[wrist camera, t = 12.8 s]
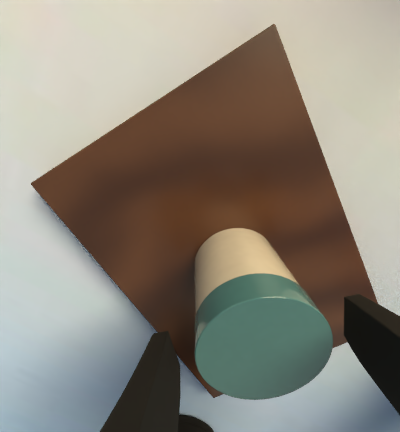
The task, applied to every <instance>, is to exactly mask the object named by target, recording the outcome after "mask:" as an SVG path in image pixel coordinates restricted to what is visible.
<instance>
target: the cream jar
mask: <svg viewBox="0 0 400 432" xmlns="http://www.w3.org/2000/svg"><path fill="white" fill-rule="evenodd" d="M194 282H195V322H194V344H195V362H196V366H197V369H198V371H199V373H200V375H201V376H202V378H203V379H204V380H205V381H206V382H207V383H208V384H209V385H210V386H211V387H213V388H214V389H216V390H217V391H219V392H221V393H223V394H226V395H228V396H231V397H235V398H240V399H250V400H260V399H269V398H274V397H279V396H282V395H285V394H288V393H291V392H293V391H295V390H297V389H299V388H301V387H303V386H304V385H306V384H307V383H309V382H310V381H311V380H313V379H314V378H315V377H316V376H317V375H318V374H319V373H320V372H321V371H322V369H323V368H324V367H325V365H326V363H327V362H328V360H329V358H330V355H331V352H332V348H333V334H332V331H331V327H330V325H329V323H328V321H327V320H326V318H325V317H324V316H323V314H322V313H321V311H320V310H319V309H318V307H317V306H316V305H315V303H314V302H313V300H312V299H311V298H310V296H309V295H308V293H307V292H306V291H305V290H304V289H303V288H302V287H301V286H300V284H299V283H298V282H297V280H296V279H295V277H294V276H293V275H292V273H291V272H290V270H289V269H288V268H287V266H286V265H285V263H284V262H283V261H282V259H281V258H280V256H279V255H278V254H277V252H276V251H275V249H274V248H273V247H272V245H271V244H270V243H269V241H268V240H267V239H266V238H265V237H264V236H262V235H261V234H259V233H257V232H255V231H253V230H249V229H244V228H232V229H226V230H223V231H220V232H218V233H216V234H214V235H212V236H211V237H210V238H208V239H207V240H206V241H205V242H204V243H203V244H202V245H201V247H200V248H199V250H198V252H197V254H196V257H195V262H194Z"/></svg>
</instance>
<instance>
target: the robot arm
mask: <svg viewBox="0 0 400 432" xmlns="http://www.w3.org/2000/svg"><path fill="white" fill-rule="evenodd" d="M344 337H345V338H346V340H347V342H348V343H349V345H350V347H351V348H352V350H353V352H354V353H355V355H356V356H357V358H358V360H359V361H360V363H361V364H362V366H363V367H364V368H365V370H366V371H367V372H368V374H369V375H370V376H371V378H372V379H373V380H374V382H375V383H376V384H377V386H378V387H379V388H380V390H381V391H382V392H383V394H384V395H385V396H386V398H387V399H388V400H389V401H390V403H391V404H392V405H393V407H394V408H395V409H396V411H397V412H398V413H399V415H400V316H398V315H396V314H395V313H393V312H391V311H389V310H388V309H386V308H384V307H382V306H380V305H379V304H377V303H375V302H373V301H372V300H370V299H368V298H366V297H364V296H362V295H361V294H357V295H351V296H346V297H344ZM179 407H180V364H179V361H178V358H177V355H176V352H175V349H174V347H173V344H172V341H171V338H170V335H169V332H168V331H164V332H159V333H154V334H153V335H152V337H151V339H150V341H149V343H148V345H147V347H146V349H145V351H144V353H143V355H142V357H141V359H140V361H139V363H138V365H137V367H136V369H135V371H134V373H133V375H132V377H131V378H130V380H129V382H128V384H127V386H126V388H125V390H124V391H123V393H122V395H121V397H120V399H119V400H118V402H117V404H116V405H115V407H114V409H113V410H112V412H111V414H110V416H109V417H108V419H107V421H106V422H105V424H104V426H103V427H102V429H101V430H100V432H178V420H179Z"/></svg>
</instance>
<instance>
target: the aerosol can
mask: <svg viewBox="0 0 400 432" xmlns="http://www.w3.org/2000/svg"><path fill="white" fill-rule="evenodd" d="M178 432H214V431H213V430H212V428H210V427H209V426H208V425H207V424H206V423H204V422H203V421H201V420H199V419H197V418H194V417H190V416H186V415H179V420H178Z"/></svg>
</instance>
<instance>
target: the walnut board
mask: <svg viewBox="0 0 400 432" xmlns="http://www.w3.org/2000/svg"><path fill="white" fill-rule="evenodd" d="M31 185H32V186H33V187H34V188H35V190H36V191H37V192H38V193H39V194H40V195H41V197H42V198H43V199H44V200H45V201H46V202H47V204H48V205H49V206H50V207H51V208H52V209H53V211H54V212H55V213H56V214H57V215H58V216H59V218H60V219H61V220H62V221H63V222H64V223H65V225H66V226H67V227H68V228H69V229H70V231H71V232H72V233H73V234H74V235H75V236H76V238H77V239H78V240H79V241H80V242H81V243H82V245H83V246H84V247H85V248H86V249H87V250H88V252H89V253H90V254H91V255H92V256H93V257H94V259H95V260H96V261H97V262H98V263H99V264H100V266H101V267H102V268H103V269H104V270H105V271H106V273H107V274H108V275H109V276H110V277H111V278H112V280H113V281H114V282H115V283H116V284H117V285H118V287H119V288H120V289H121V290H122V291H123V292H124V294H125V295H126V296H127V297H128V298H129V299H130V301H131V302H132V303H133V304H134V305H135V306H136V308H137V309H138V310H139V311H140V312H141V313H142V315H143V316H144V317H145V318H146V319H147V321H148V322H149V323H150V324H151V325H152V326H153V328H154V329H155V330H156V331H157V332H158V333H159V332H164V331H168V332H169V335H170V338H171V341H172V344H173V347H174V349H175V352H176V354H177V356H178V357H179V358H180V359H181V360H182V361H183V363H184V364H185V365H186V366H187V367H188V368H189V370H190V371H191V372H192V373H193V374H194V375H195V377H196V378H197V379H198V380H199V381H200V382H201V384H202V385H203V386H204V387H205V388H206V389H207V391H208V392H209V393H210V394H211V395H212V396H213V398H215V397H217V396H220V395H222V394H223V393H221V392H219V391H217V390H216V389H214V388H213V387H211V386H210V385H209V384H208V383H207V382H206V381H205V380H204V379H203V378H202V376H201V375H200V373H199V371H198V369H197V366H196V362H195V344H194V322H195V282H194V262H195V257H196V254H197V252H198V250H199V248H200V247H201V245H202V244H203V243H204V242H205V241H206V240H207V239H208V238H210V237H211V236H212V235H214V234H216V233H218V232H220V231H223V230H226V229H232V228H244V229H249V230H253V231H255V232H257V233H259V234H261V235H262V236H264V237H265V238H266V239H267V240H268V241H269V243H270V244H271V245H272V247H273V248H274V249H275V251H276V252H277V254H278V255H279V256H280V258H281V259H282V261H283V262H284V263H285V265H286V266H287V268H288V269H289V270H290V272H291V273H292V275H293V276H294V277H295V279H296V280H297V282H298V283H299V284H300V286H301V287H302V288H303V289H304V290H305V291H306V292H307V293H308V295H309V296H310V298H311V299H312V300H313V302H314V303H315V305H316V306H317V307H318V309H319V310H320V311H321V313H322V314H323V316H324V317H325V318H326V320H327V321H328V323H329V325H330V327H331V331H332V334H333V348H334V347H337V346H339V345H342V344H344V343H346V342H347V340H346V338H345V337H344V297H346V296H351V295H357V294H361V295H362V296H364V297H366V298H368V299H370V300H372V301H373V302H375V303H377V304H378V302H377V299H376V297H375V294H374V291H373V289H372V286H371V283H370V280H369V278H368V275H367V272H366V270H365V267H364V264H363V261H362V259H361V256H360V253H359V251H358V248H357V245H356V242H355V240H354V237H353V234H352V232H351V229H350V226H349V224H348V221H347V218H346V215H345V213H344V210H343V207H342V205H341V202H340V199H339V196H338V194H337V191H336V188H335V186H334V183H333V180H332V177H331V175H330V172H329V169H328V167H327V164H326V161H325V158H324V156H323V153H322V150H321V148H320V145H319V142H318V139H317V137H316V134H315V131H314V129H313V126H312V123H311V120H310V118H309V115H308V112H307V110H306V107H305V104H304V101H303V99H302V96H301V93H300V91H299V88H298V85H297V82H296V80H295V77H294V74H293V72H292V69H291V66H290V63H289V61H288V58H287V55H286V53H285V50H284V47H283V44H282V42H281V39H280V36H279V34H278V31H277V28H276V25H275V24H273V25H271V26H270V27H268V28H267V29H265V30H264V31H262V32H261V33H259V34H258V35H256V36H255V37H253V38H252V39H250V40H249V41H247V42H246V43H244V44H242V45H241V46H239V47H238V48H236V49H235V50H233V51H232V52H230V53H229V54H227V55H226V56H224V57H223V58H221V59H220V60H218V61H217V62H215V63H213V64H212V65H210V66H209V67H207V68H206V69H204V70H203V71H201V72H200V73H198V74H197V75H195V76H194V77H192V78H191V79H189V80H188V81H186V82H184V83H183V84H181V85H180V86H178V87H177V88H175V89H174V90H172V91H171V92H169V93H168V94H166V95H165V96H163V97H162V98H160V99H159V100H157V101H155V102H154V103H152V104H151V105H149V106H148V107H146V108H145V109H143V110H142V111H140V112H139V113H137V114H136V115H134V116H133V117H131V118H130V119H128V120H126V121H125V122H123V123H122V124H120V125H119V126H117V127H116V128H114V129H113V130H111V131H110V132H108V133H107V134H105V135H104V136H102V137H101V138H99V139H97V140H96V141H94V142H93V143H91V144H90V145H88V146H87V147H85V148H84V149H82V150H81V151H79V152H78V153H76V154H75V155H73V156H72V157H70V158H68V159H67V160H65V161H64V162H62V163H61V164H59V165H58V166H56V167H55V168H53V169H52V170H50V171H49V172H47V173H46V174H44V175H43V176H41V177H39V178H38V179H36V180H35V181H33V182H32V183H31Z"/></svg>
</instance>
